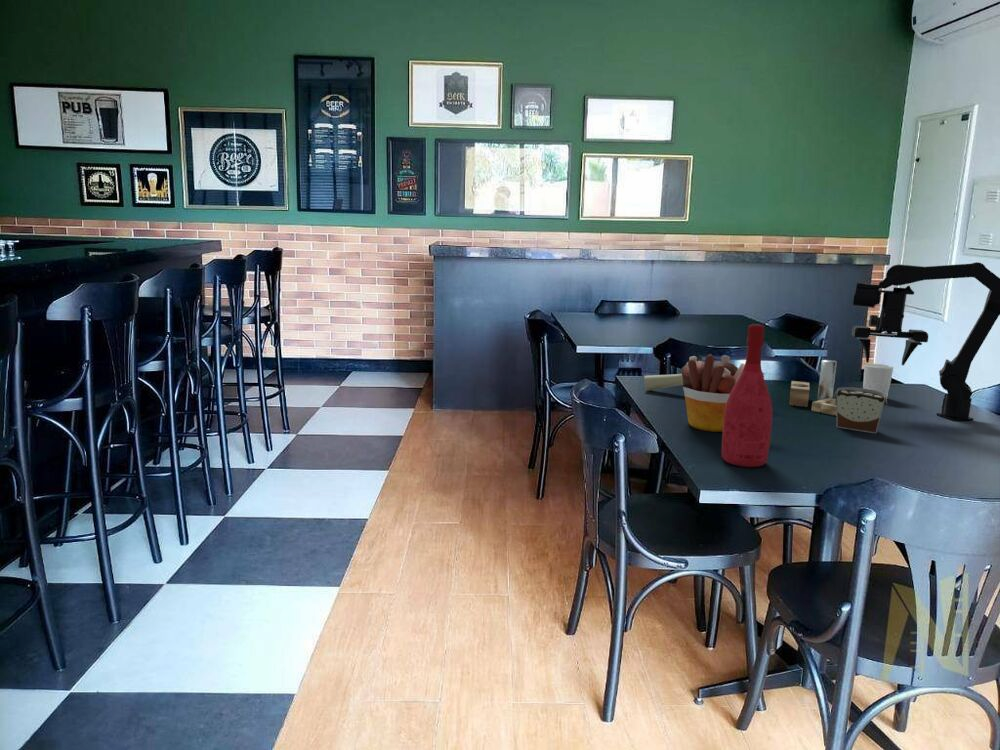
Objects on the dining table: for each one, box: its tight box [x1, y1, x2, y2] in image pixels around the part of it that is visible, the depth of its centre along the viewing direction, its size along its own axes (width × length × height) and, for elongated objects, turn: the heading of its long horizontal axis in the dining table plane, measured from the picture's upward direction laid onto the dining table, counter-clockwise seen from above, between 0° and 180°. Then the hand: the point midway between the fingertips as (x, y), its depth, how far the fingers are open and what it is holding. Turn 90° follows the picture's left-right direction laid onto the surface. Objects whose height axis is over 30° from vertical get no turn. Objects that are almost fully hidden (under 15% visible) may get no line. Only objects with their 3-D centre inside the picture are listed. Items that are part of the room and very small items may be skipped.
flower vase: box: [643, 371, 765, 392], centre depth 220 cm, size 12×12×35 cm
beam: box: [788, 380, 811, 408], centre depth 218 cm, size 12×5×5 cm, turn 158°
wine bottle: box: [721, 323, 773, 468], centre depth 156 cm, size 10×10×30 cm
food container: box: [833, 387, 888, 434], centre depth 189 cm, size 12×6×10 cm, turn 56°
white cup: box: [862, 363, 894, 398], centre depth 226 cm, size 8×8×10 cm
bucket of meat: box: [681, 354, 745, 433], centre depth 185 cm, size 20×16×20 cm
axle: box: [816, 359, 837, 401], centre depth 215 cm, size 4×4×13 cm
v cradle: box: [811, 398, 837, 417], centre depth 207 cm, size 8×14×2 cm, turn 174°
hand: (884, 363), depth 210 cm, fingers open, 9 cm apart
